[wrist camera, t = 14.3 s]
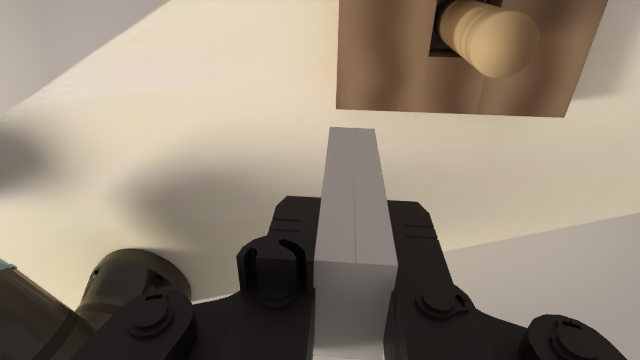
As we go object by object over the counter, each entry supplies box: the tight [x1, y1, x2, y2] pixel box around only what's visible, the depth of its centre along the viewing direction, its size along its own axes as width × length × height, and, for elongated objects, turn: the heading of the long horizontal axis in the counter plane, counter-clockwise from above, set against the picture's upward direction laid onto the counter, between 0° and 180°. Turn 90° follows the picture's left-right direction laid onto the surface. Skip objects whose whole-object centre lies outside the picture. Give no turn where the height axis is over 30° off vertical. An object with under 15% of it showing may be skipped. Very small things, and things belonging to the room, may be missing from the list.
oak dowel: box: [433, 0, 540, 78], centre depth 29 cm, size 4×4×14 cm
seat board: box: [336, 0, 608, 118], centre depth 33 cm, size 22×16×4 cm
